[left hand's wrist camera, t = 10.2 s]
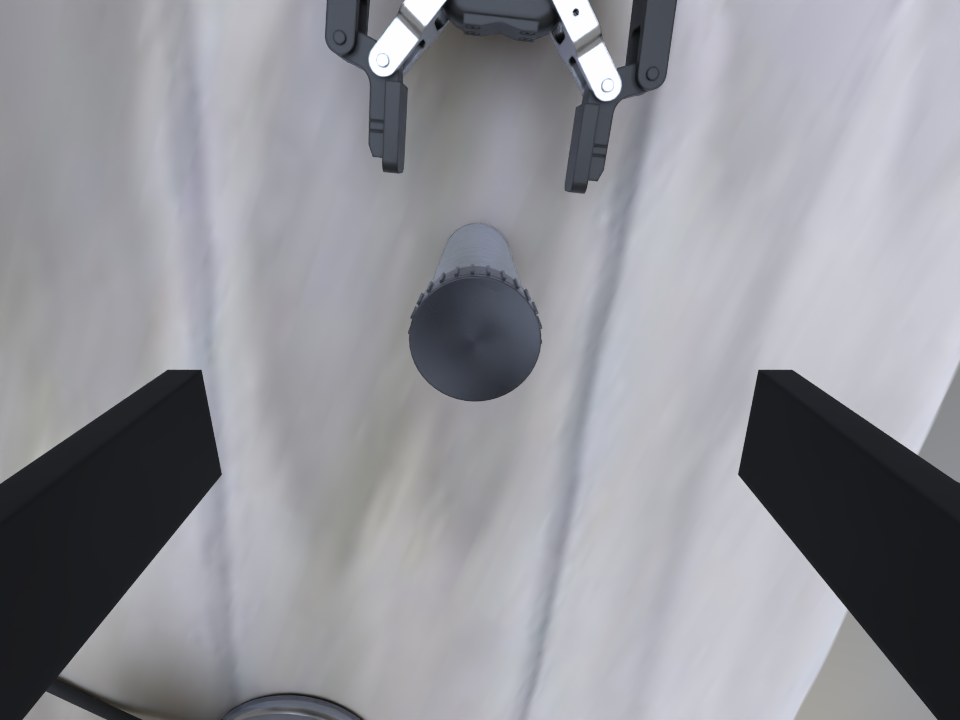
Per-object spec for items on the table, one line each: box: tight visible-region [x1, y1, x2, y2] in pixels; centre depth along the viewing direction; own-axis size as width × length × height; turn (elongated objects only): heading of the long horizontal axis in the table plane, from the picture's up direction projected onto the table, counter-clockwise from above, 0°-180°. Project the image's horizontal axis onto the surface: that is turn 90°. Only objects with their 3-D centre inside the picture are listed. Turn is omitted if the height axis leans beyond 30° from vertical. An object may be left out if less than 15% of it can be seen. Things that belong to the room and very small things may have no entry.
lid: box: [408, 264, 542, 401], centre depth 19 cm, size 4×4×2 cm
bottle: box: [432, 224, 522, 286], centre depth 26 cm, size 4×4×16 cm
